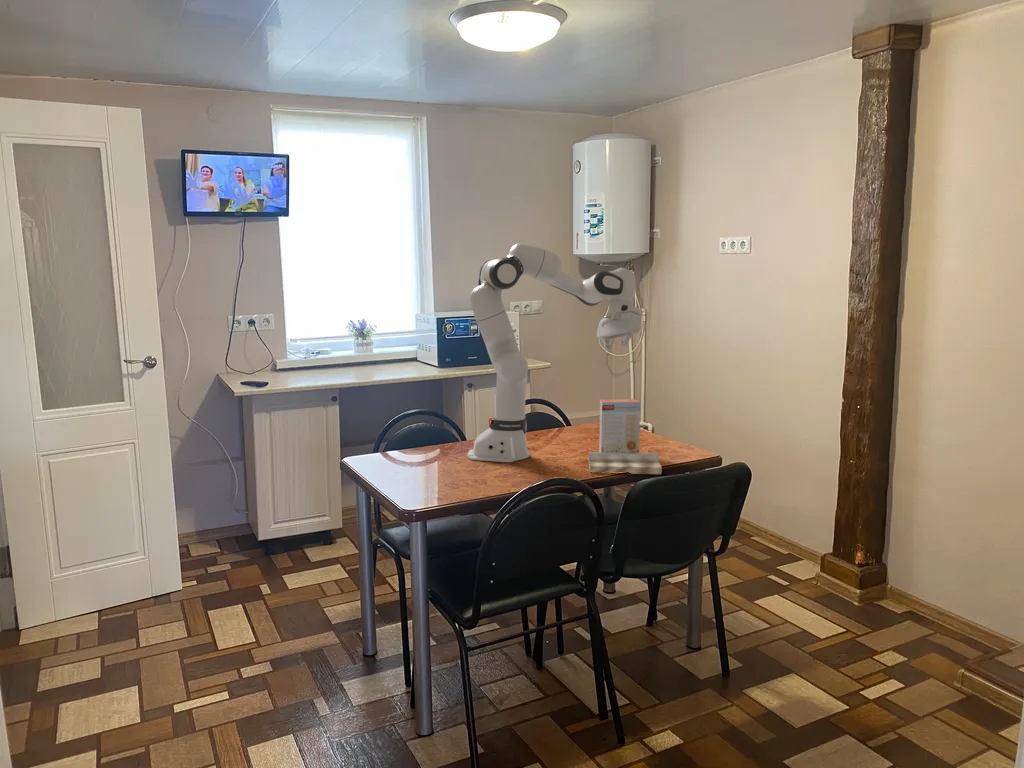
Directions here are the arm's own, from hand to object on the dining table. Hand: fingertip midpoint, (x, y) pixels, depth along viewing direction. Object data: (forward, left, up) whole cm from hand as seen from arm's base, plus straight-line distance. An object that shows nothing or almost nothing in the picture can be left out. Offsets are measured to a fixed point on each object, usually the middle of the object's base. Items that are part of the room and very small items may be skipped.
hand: (615, 348), depth 282 cm
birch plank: (+2, -24, -39) cm, 46 cm away
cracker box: (+2, -4, -40) cm, 40 cm away
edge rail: (+2, -19, -39) cm, 44 cm away
